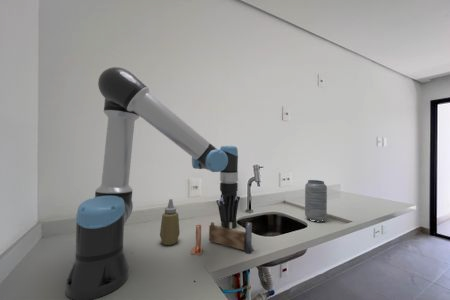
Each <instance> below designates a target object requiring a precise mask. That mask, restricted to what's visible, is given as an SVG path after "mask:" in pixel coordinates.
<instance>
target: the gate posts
mask: <svg viewBox="0 0 450 300" xmlns="http://www.w3.org/2000/svg"><path fill="white" fill-rule="evenodd" d="M252 229H253V223H252V222H250V221H248V222H245V231H244V232H245V249H244V250H242V251H243V252H244V253H246V254H248V255H249V254H252V252H254V251H255V249H254V246H253V245H252V241H253V239H252V237H253V235H252V233H253V231H252ZM191 254H193V255H195V256H199V255H203V247H202V224H196V225H195V247H191V251H190V255H191ZM193 255H192V256H193Z"/></svg>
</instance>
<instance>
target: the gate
mask: <svg viewBox="0 0 450 300" xmlns="http://www.w3.org/2000/svg"><path fill="white" fill-rule="evenodd" d="M208 227H209V229H208V230H209V231H208V233H209V235H208V241H210V242H214V243H217V244H219V245H220V244H221V245H225V246H228V247H230V248H231V247H232V248H236V249H239V250H242V251H243V250H244V249H245V231H243V230H237V229H234V228H233V229H229V228H224V227H222V226H219V225H215V222H212V221H211V222H210V225H209V226H208Z"/></svg>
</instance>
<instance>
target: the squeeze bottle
mask: <svg viewBox="0 0 450 300" xmlns="http://www.w3.org/2000/svg"><path fill="white" fill-rule="evenodd" d="M179 219H180V218H179V213H178V212H177V207H175V206H174V202H173V199H168V204H167V207H164V213H163V214H162V215H161V222H160V230H159V231H160V232H159V237H160V240H161V243H162V245H164V246H171V245H172V244H173V245H175V244H176V243H177V242H178V239H179V236H180V233H181V232H180V221H179Z"/></svg>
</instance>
